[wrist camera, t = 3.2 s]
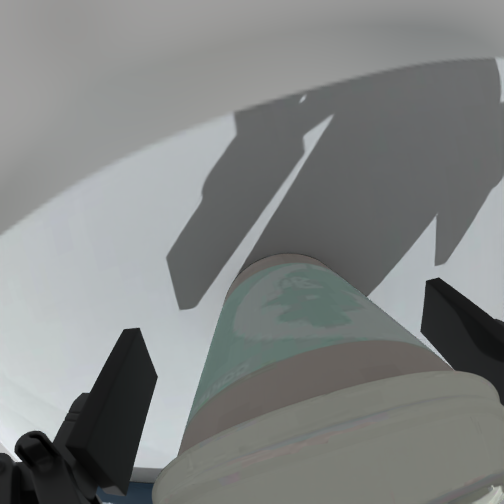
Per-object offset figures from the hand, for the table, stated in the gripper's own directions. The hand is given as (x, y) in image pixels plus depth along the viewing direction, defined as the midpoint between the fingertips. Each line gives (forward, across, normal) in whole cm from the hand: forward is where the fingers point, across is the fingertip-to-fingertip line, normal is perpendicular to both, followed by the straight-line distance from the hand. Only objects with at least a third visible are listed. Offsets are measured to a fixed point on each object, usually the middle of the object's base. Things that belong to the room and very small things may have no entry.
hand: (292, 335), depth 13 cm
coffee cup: (+2, 0, 0) cm, 2 cm away
